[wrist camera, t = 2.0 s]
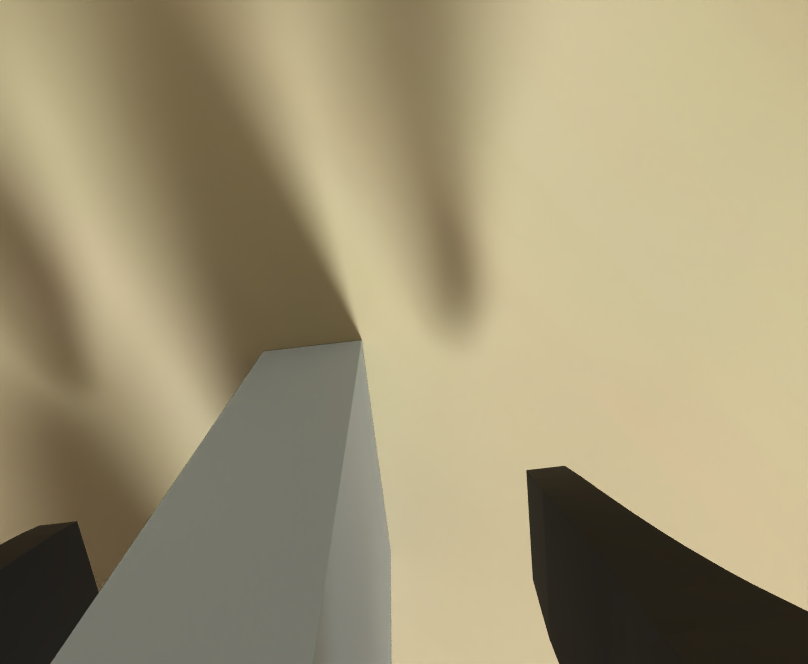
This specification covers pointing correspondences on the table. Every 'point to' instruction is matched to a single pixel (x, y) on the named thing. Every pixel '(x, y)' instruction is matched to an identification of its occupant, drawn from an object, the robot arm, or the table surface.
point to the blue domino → (261, 534)
